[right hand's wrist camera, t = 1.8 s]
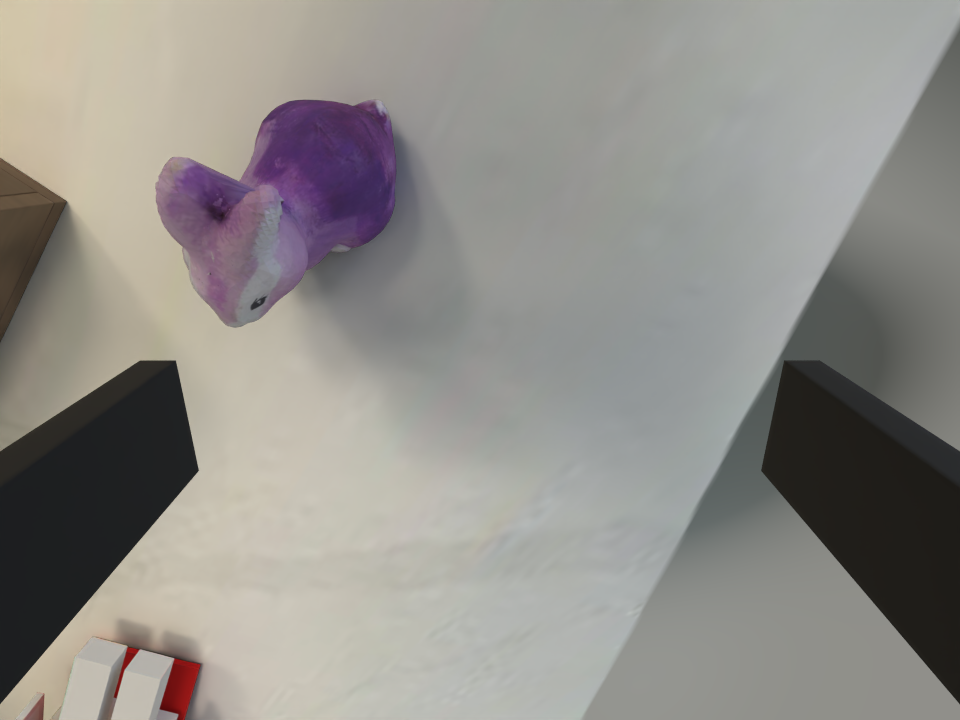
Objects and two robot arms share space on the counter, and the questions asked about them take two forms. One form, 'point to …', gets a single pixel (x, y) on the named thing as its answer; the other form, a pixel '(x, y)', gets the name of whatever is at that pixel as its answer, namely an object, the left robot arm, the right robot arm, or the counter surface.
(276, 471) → the counter surface
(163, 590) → the counter surface
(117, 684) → the toy
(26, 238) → the cabinet
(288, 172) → the figurine
